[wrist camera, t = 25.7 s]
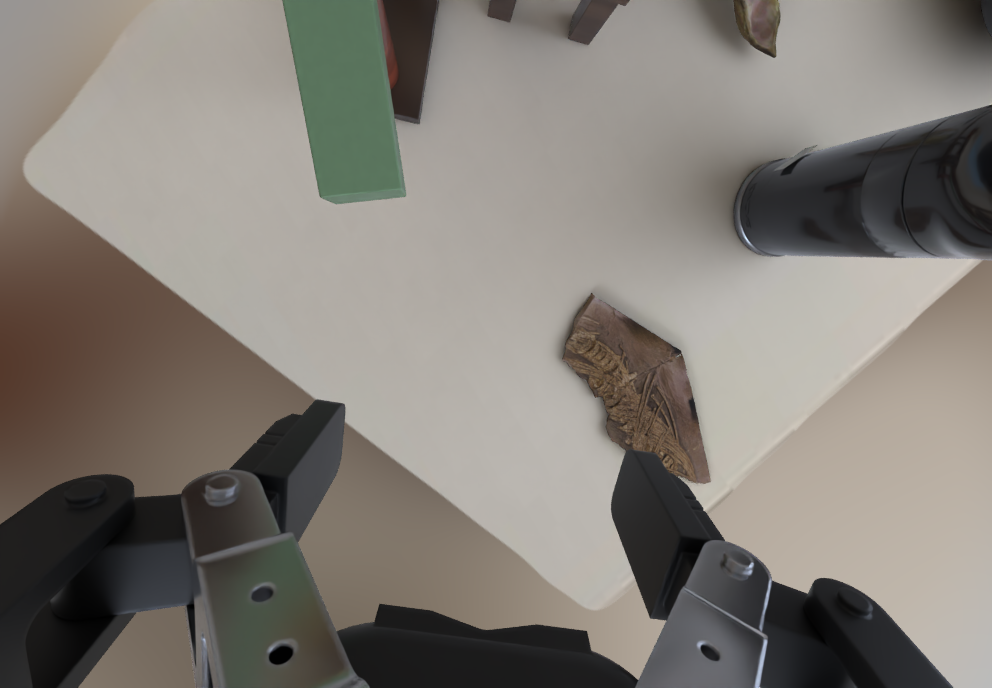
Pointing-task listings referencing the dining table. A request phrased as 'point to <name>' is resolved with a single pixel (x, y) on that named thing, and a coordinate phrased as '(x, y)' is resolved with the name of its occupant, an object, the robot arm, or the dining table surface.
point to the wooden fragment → (639, 388)
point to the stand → (585, 21)
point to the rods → (407, 51)
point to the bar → (346, 98)
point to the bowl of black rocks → (987, 14)
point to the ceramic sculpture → (758, 23)
